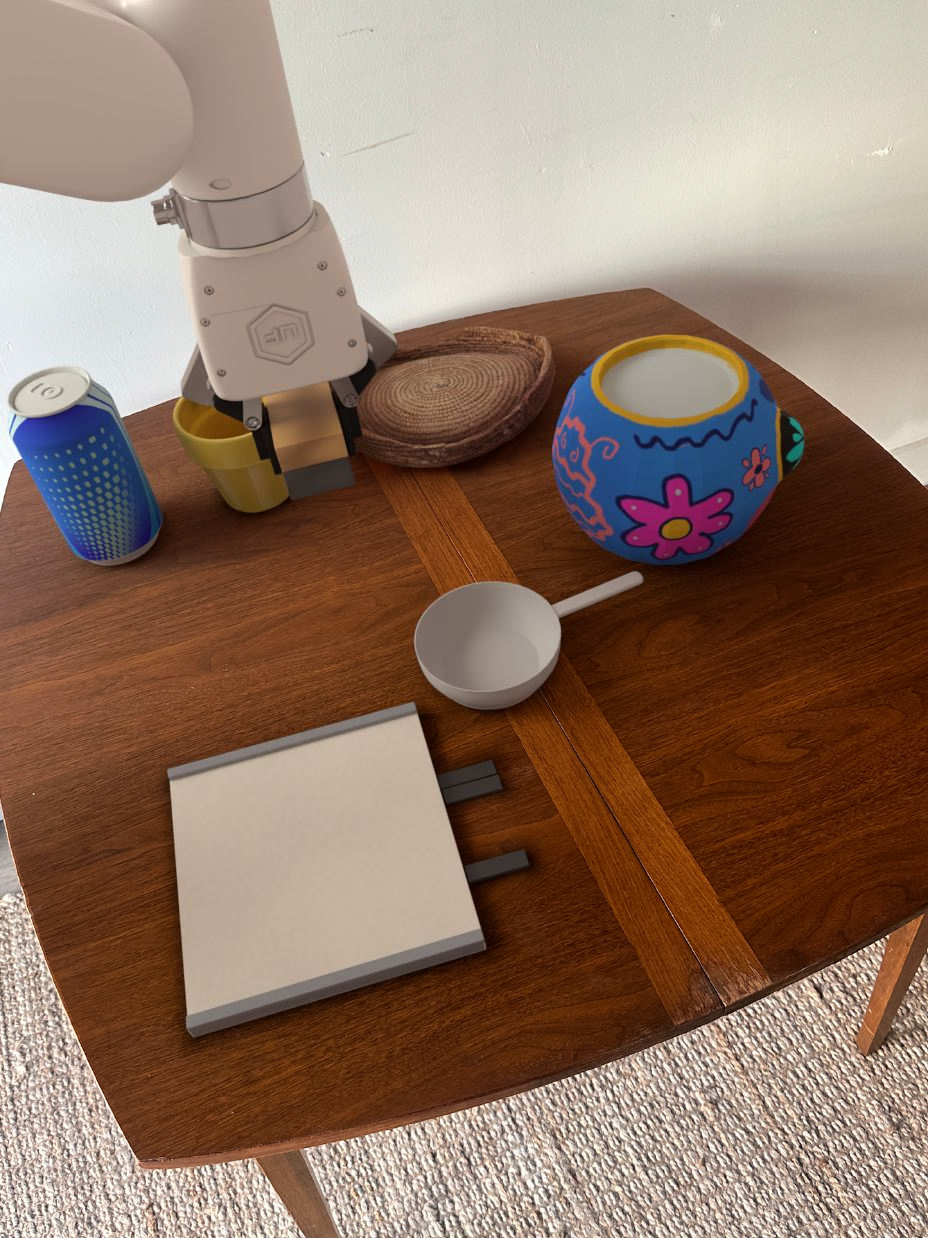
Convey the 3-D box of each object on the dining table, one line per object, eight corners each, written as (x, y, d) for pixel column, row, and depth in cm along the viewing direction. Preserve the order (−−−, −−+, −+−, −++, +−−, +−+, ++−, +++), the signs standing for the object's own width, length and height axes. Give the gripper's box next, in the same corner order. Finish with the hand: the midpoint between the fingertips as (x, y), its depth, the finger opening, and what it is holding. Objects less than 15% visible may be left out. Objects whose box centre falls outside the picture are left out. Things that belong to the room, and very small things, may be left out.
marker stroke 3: (469, 885, 65) (468, 882, 64) (464, 868, 66) (464, 865, 65) (529, 868, 65) (529, 864, 65) (524, 851, 66) (524, 848, 66)
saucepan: (401, 640, 79) (393, 607, 77) (608, 565, 83) (608, 530, 80) (450, 742, 72) (444, 709, 70) (675, 655, 76) (677, 621, 73)
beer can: (161, 497, 95) (98, 348, 83) (172, 555, 89) (106, 403, 77) (71, 523, 94) (-6, 375, 82) (77, 583, 88) (-5, 433, 76)
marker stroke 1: (441, 792, 70) (441, 789, 70) (437, 778, 71) (436, 775, 71) (497, 776, 70) (496, 773, 70) (492, 762, 71) (492, 759, 71)
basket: (505, 328, 108) (502, 286, 104) (598, 427, 95) (597, 382, 91) (305, 396, 103) (294, 353, 100) (374, 509, 90) (364, 466, 87)
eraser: (291, 501, 69) (274, 448, 66) (277, 434, 75) (261, 382, 71) (355, 485, 70) (342, 432, 66) (337, 419, 75) (324, 367, 72)
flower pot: (284, 536, 89) (256, 447, 82) (184, 517, 92) (148, 430, 85) (334, 463, 96) (311, 374, 88) (238, 447, 99) (209, 361, 92)
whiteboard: (193, 1038, 60) (186, 1029, 59) (173, 779, 73) (167, 768, 72) (486, 949, 62) (484, 939, 61) (416, 712, 75) (414, 701, 74)
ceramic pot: (815, 560, 81) (848, 403, 70) (611, 632, 78) (611, 480, 67) (705, 439, 92) (719, 288, 81) (524, 497, 89) (512, 349, 78)
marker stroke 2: (446, 807, 69) (445, 803, 69) (442, 792, 70) (441, 789, 70) (503, 791, 69) (502, 788, 69) (498, 777, 70) (498, 774, 70)
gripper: (99, 264, 55) (198, 516, 69) (402, 199, 57) (441, 457, 70) (99, 205, 60) (191, 450, 74) (377, 147, 62) (418, 397, 75)
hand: (313, 451), depth 72 cm, fingers closed on eraser, 4 cm apart
